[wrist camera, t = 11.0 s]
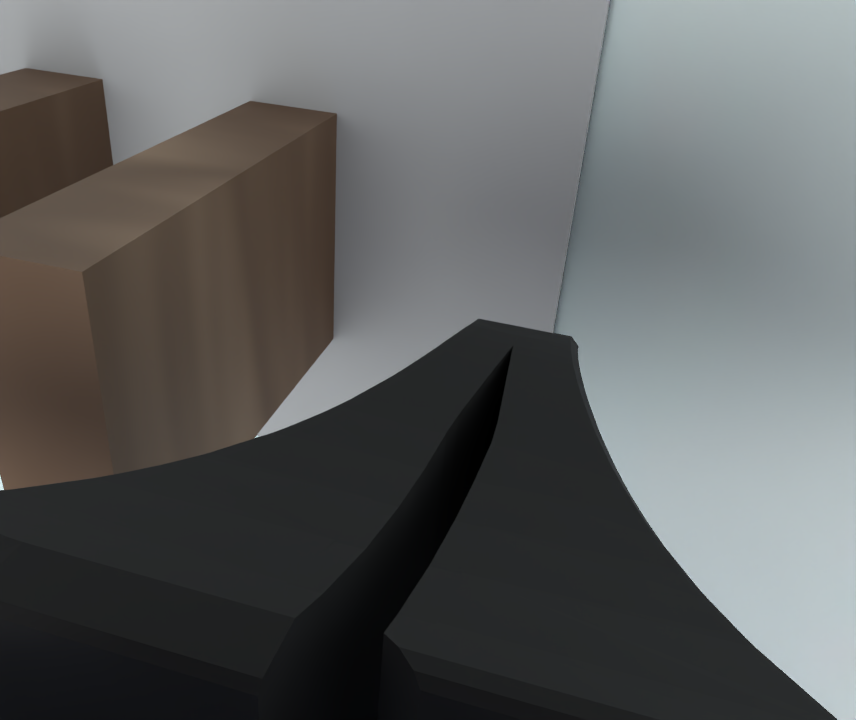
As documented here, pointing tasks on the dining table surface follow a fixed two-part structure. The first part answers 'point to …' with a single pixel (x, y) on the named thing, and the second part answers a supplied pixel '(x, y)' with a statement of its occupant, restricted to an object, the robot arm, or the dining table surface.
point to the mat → (371, 142)
